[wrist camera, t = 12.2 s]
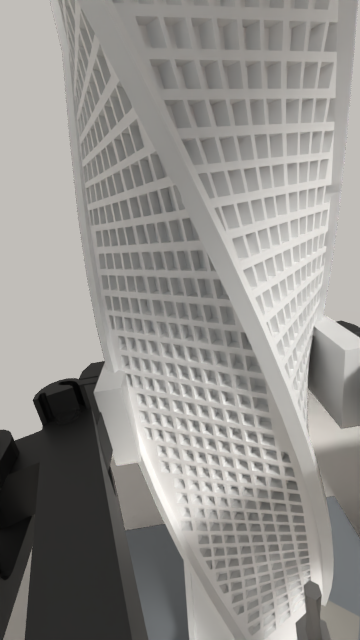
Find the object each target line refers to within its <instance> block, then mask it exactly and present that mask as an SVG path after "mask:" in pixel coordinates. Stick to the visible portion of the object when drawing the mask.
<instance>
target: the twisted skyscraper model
mask: <svg viewBox="0 0 360 640" xmlns="http://www.w3.org/2000/svg"><path fill="white" fill-rule="evenodd" d="M50 4H51V8H52V12H53V17H54V20H55V25H56V29H57V33H58V37H59V41H60V46H61V50H62V57H63V68H64V80H65V92H66V103H67V115H68V126H69V137H70V146H71V155H72V165H73V174H74V183H75V193H76V202H77V212H78V220H79V227H80V234H81V240H82V247H83V254H84V261H85V268H86V274H87V280H88V285H89V290H90V296H91V301H92V306H93V311H94V317H95V322H96V327H97V331H98V335H99V339H100V343H101V347H102V351H103V355H104V359H105V364H106V368H107V371H110V372H113V373H115V372H117V371H118V370H122V371H125V374H126V380H127V385H128V390H129V394H130V399H131V403H132V408H133V413H134V417H135V422H136V427H137V433H138V440H139V446H140V452H141V462H138V464H139V467H140V469H141V472H142V474H143V476H144V479H145V481H146V483H147V485H148V488H149V490H150V492H151V495H152V497H153V499H154V502H155V504H156V506H157V508H158V511H159V513H160V515H161V517H162V519H163V521H164V523H165V525H166V527H167V529H168V531H169V533H170V535H171V537H172V539H173V541H174V543H175V545H176V547H177V549H178V551H179V553H180V555H181V557H182V558H183V560H184V573H185V588H186V602H187V616H188V630H189V640H358V635H359V619H360V617H359V616H357V615H355V614H354V613H352V612H350V611H348V610H346V609H344V608H342V607H340V606H338V605H336V604H335V603H333V602H331V601H329V600H328V598H329V595H330V591H331V588H332V581H333V566H334V558H333V543H332V532H331V523H330V517H329V511H328V506H327V500H326V496H325V491H324V487H323V483H322V479H321V475H320V471H319V467H318V463H317V460H316V457H315V454H314V450H313V447H312V444H311V440H310V437H309V431H308V411H307V389H308V371H309V361H310V353H311V346H312V340H313V327H314V326H315V322H316V321H322V318H323V314H324V308H325V302H326V297H327V291H328V285H329V279H330V273H331V267H332V260H333V253H334V245H335V238H336V230H337V223H338V215H339V207H340V198H341V188H342V178H343V169H344V159H345V149H346V140H347V129H348V118H349V106H350V94H351V82H352V70H353V57H354V45H355V34H356V21H357V10H358V0H50Z"/></svg>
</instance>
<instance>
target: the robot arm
mask: <svg viewBox="0 0 360 640" xmlns="http://www.w3.org/2000/svg"><path fill="white" fill-rule="evenodd" d="M308 388H309V390H310V391H311V392H312V393H313V394H314V396H315V397H316V398H317V399H318V401H319V402H320V403H321V404H322V406H323V407H324V408H325V409H326V410H327V412H328V413H329V414H330V415H331V417H332V418H333V419H334V420H335V422H336V423H337V424H338V425H339V426H340V428H341V429H343V428H349V427H355V426H360V328H359V327H358V326H356V325H354V324H350V323H347V322H344V321H337V322H335V321H334V320H332V319H330V318H329V317H327V316H326V315H324V314H323V318H322V321H316V322H315V326H314V327H313V340H312V346H311V353H310V361H309V371H308ZM33 402H34V405H35V407H36V410H37V412H38V415H39V417H40V420H41V422H42V425H43V429H42V430H41V431H39V432H36V433H34V434H32V435H29V436H26V437H23V438H21V439H18V440H15V441H14V439H13V437H12V435H11V433H10V432H9V431H6V430H0V640H3V638H4V635H5V632H6V628H7V625H8V622H9V619H10V616H11V613H12V609H13V606H14V603H15V600H16V597H17V593H18V590H19V587H20V584H21V581H22V578H23V574H24V571H25V568H26V565H27V562H28V559H29V555H30V552H31V549H32V560H31V572H30V583H29V595H28V607H27V619H26V631H25V640H148V635H147V630H146V626H145V621H144V616H143V612H142V607H141V602H140V598H139V593H138V588H137V584H136V579H135V574H134V570H133V565H132V560H131V556H130V551H129V547H128V542H127V537H126V533H125V528H124V523H123V519H122V514H121V509H120V505H119V500H118V495H117V491H116V486H115V481H114V477H113V473H112V470H111V467H110V462H111V457H112V453H113V456H114V460H115V463H116V466H120V465H126V464H132V463H138V462H141V452H140V446H139V440H138V433H137V427H136V422H135V417H134V413H133V408H132V403H131V399H130V394H129V390H128V385H127V380H126V374H125V371H122V370H118V371H117V372H115V373H113V372H110V371H107V368H106V364H105V361H103V362H97V363H91V364H90V365H89V366H88V367H87V368H86V369H85V370H84V371H83V372H82V374H81V376H80V378H79V379H76V378H74V379H73V378H71V379H64V380H59V381H57V382H54V383H52V384H49V385H48V386H46V387H44V388H43V389H41V390H40V391H39V392H38V393H37V394H36V395H35V397H34V399H33ZM32 546H33V548H32Z"/></svg>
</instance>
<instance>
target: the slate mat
mask: <svg viewBox="0 0 360 640" xmlns="http://www.w3.org/2000/svg"><path fill="white" fill-rule="evenodd" d="M326 500H327V506H328V511H329V517H330V523H331V532H332V543H333V558H334V566H333V581H332V588H331V591H330V595H329V598H328V600H329V601H331V602H333V603H335V604H336V605H338V606H340V607H342V608H344V609H346V610H348V611H350V612H352V613H354V614H355V615H357V616H359V617H360V538H359V537H358V535H357V533H356V532H355V530H354V528H353V527H352V525H351V523H350V522H349V520H348V518H347V517H346V515H345V513H344V512H343V510H342V508H341V507H340V505H339V503H338V502H337V500H336V498H335V497H334V496H332V497H326ZM125 533H126V537H127V542H128V547H129V551H130V556H131V560H132V565H133V570H134V574H135V579H136V584H137V588H138V593H139V598H140V602H141V607H142V612H143V616H144V621H145V626H146V630H147V635H148V640H189V630H188V616H187V602H186V588H185V573H184V560H183V558H182V557H181V555H180V553H179V551H178V549H177V547H176V545H175V543H174V541H173V539H172V537H171V535H170V533H169V531H168V529H167V527H166V525H165V524H163V525H156V526H150V527H144V528H138V529H132V530H126V531H125ZM358 640H360V619H359V635H358Z"/></svg>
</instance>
